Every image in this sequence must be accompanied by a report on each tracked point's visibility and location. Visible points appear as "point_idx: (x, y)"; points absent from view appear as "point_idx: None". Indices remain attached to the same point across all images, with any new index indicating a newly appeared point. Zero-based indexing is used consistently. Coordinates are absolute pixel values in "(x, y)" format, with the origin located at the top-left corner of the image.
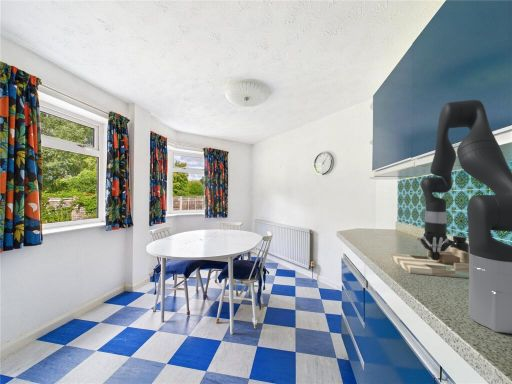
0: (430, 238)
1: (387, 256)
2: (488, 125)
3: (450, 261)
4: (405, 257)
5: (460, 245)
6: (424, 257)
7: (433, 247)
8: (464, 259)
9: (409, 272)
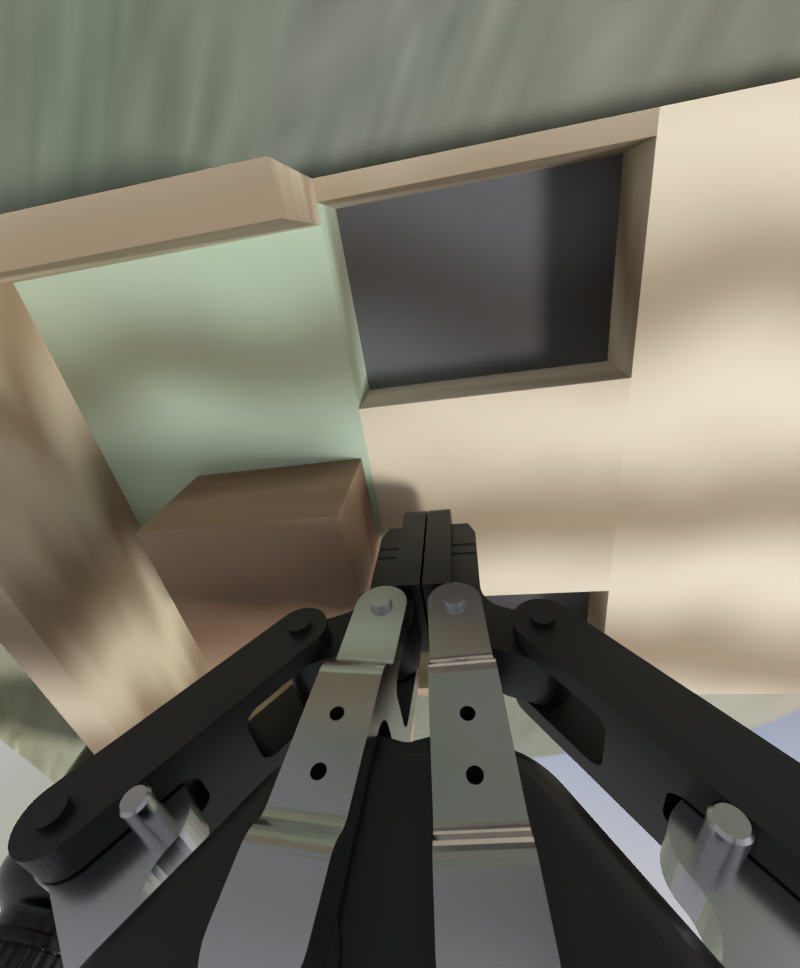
0: (598, 953)
1: (752, 694)
2: None
3: (274, 488)
4: (709, 602)
5: None
6: None
7: (475, 652)
8: (111, 577)
9: None
